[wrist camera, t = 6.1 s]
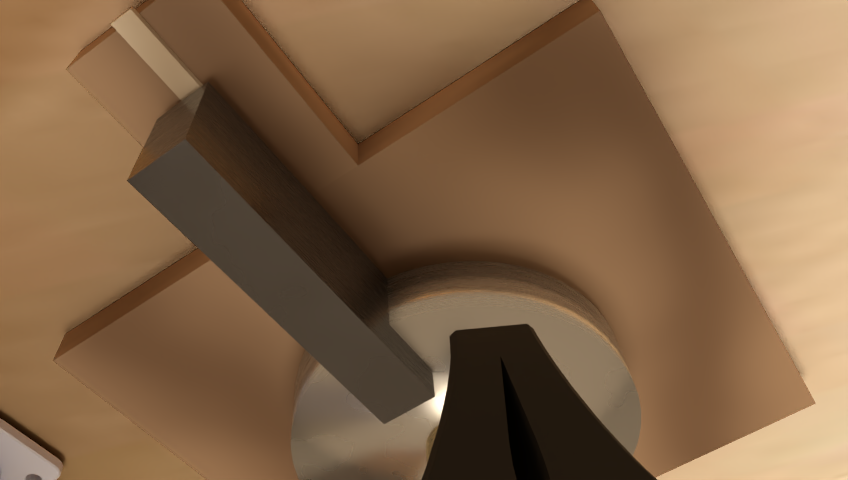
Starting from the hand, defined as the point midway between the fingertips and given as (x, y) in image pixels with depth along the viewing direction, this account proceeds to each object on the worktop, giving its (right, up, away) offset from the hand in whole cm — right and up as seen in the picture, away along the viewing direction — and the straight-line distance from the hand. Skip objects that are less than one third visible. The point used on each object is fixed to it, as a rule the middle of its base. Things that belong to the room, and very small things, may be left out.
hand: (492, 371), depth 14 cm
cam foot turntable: (-2, 0, +9) cm, 9 cm away
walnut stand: (-2, +1, +11) cm, 11 cm away
